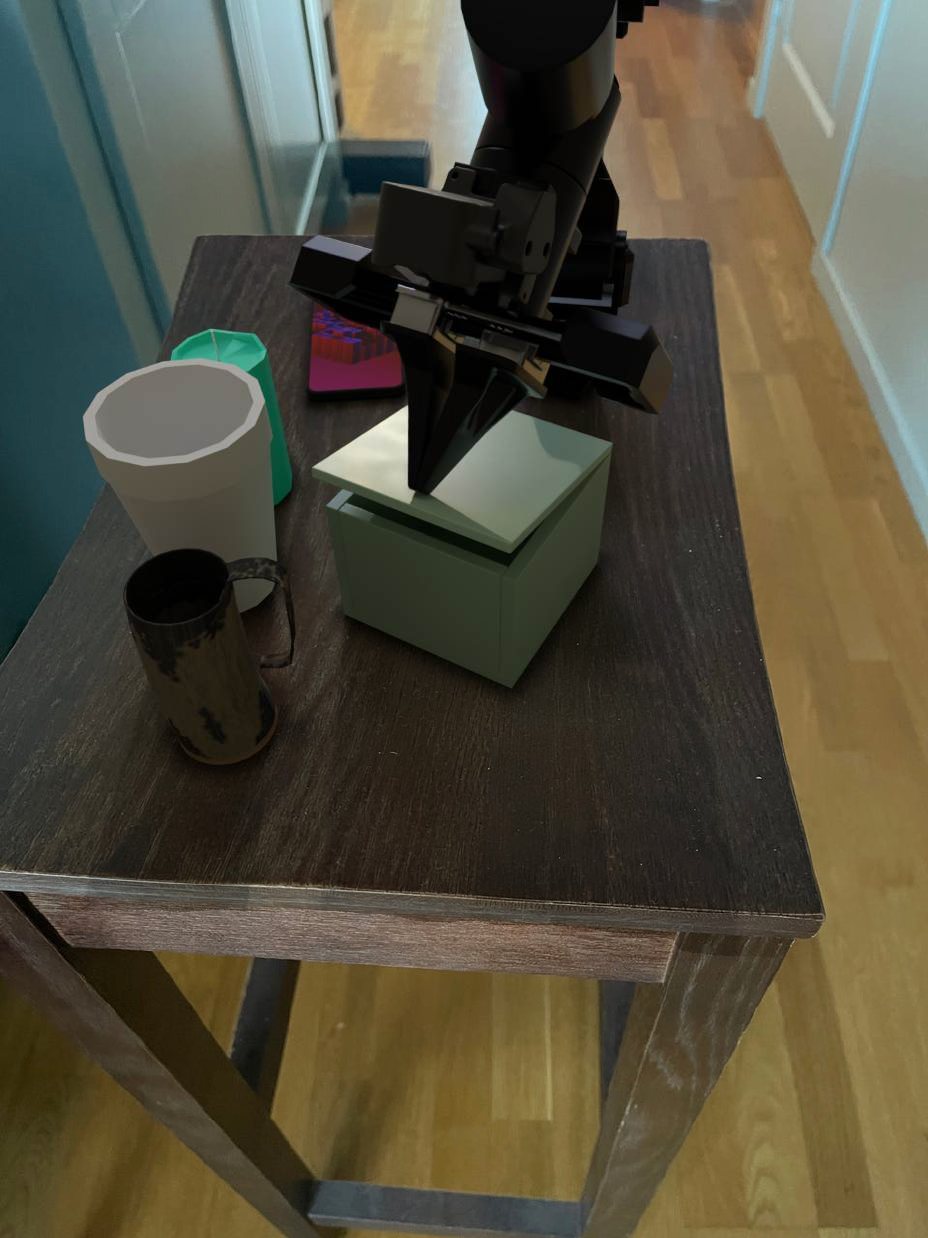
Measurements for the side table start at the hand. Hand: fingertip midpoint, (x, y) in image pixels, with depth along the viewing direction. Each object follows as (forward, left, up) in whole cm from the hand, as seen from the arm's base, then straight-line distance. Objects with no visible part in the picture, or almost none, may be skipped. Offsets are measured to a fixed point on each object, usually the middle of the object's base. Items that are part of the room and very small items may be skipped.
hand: (418, 491), depth 45 cm
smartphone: (-24, -22, -12) cm, 35 cm away
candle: (-6, -19, -12) cm, 23 cm away
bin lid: (-5, 0, -2) cm, 5 cm away
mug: (+10, -6, -12) cm, 17 cm away
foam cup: (+2, -14, -12) cm, 19 cm away
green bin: (-5, 0, -12) cm, 13 cm away
